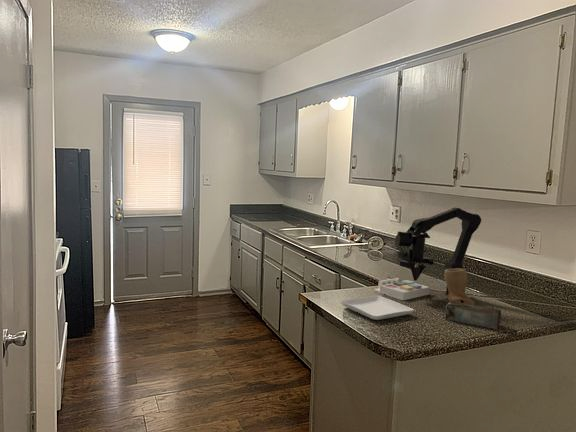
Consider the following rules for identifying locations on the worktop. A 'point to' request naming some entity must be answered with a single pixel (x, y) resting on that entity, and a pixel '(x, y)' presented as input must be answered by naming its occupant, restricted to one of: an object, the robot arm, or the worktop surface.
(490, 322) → the weathered grey rectangular box
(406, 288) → the block
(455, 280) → the tan boot
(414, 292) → the keypad
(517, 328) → the worktop surface
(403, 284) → the key charcoal
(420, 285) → the key slate
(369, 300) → the salad plate
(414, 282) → the key sage
